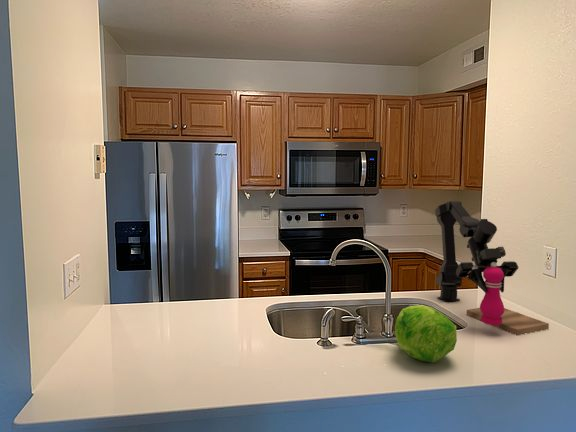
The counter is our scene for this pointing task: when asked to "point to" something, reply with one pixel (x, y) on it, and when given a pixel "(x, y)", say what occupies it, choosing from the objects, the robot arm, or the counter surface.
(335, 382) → the counter surface
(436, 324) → the lettuce
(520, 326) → the walnut board
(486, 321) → the pepper mill
